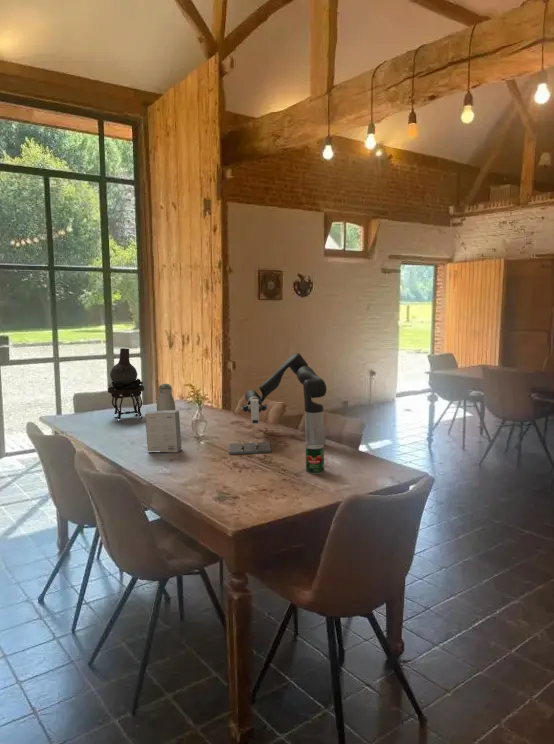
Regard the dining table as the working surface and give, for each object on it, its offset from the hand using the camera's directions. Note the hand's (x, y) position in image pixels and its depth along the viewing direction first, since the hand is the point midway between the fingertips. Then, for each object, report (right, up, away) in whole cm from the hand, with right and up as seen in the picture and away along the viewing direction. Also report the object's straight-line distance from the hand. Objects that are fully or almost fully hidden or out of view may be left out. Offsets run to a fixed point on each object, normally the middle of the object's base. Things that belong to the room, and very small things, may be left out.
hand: (254, 410), depth 289 cm
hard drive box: (-45, -20, -3) cm, 49 cm away
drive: (0, -7, +4) cm, 8 cm away
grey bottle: (-51, -15, +37) cm, 65 cm away
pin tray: (-2, -19, -5) cm, 20 cm away
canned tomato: (+28, -23, -44) cm, 57 cm away
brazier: (-85, -10, +82) cm, 118 cm away
